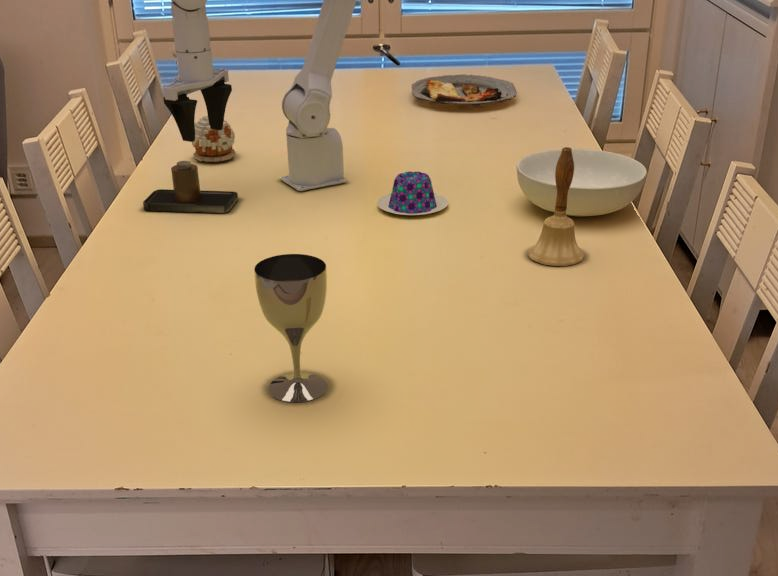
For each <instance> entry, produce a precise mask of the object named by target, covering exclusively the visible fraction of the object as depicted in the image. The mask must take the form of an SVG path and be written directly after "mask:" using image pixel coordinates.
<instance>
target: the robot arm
mask: <svg viewBox="0 0 778 576" xmlns="http://www.w3.org/2000/svg"><path fill="white" fill-rule="evenodd" d="M170 1H171V2H170V12H171V15H172V18H171V25H172V33H173V40H174V41H173V43H174V49H175V57H176V64H177V73H178V74H177V75H175V76H174V81H172V82H171V83H170V84H167V85H165V86H163V94H164V95H163V104H164V105H165V107H166V108H167V109H168V111H169V112H170V114H171V115H172V117H173V120H174V121H175V123H176V125H177V128H178V131H179V134H180V137H181V139H182V141H183V142H189V143H192V142H193V141H195V123H196V122H195V117H196V116H195V115H196V109H197V104H198V100H197V99H192V98H190V97H189V96H188V95H190V94H192V93H195V92H198V91H200V93H201V94H202V98H203V100H204V103H205V108H206V113H207V116H208V120H209V124H210V128H211V129H214V130H222V129H223V122H224V120H225V114H226V108H227V104H228V101H229V98H230V96H231V94H232V91H233V86H232V84H230V83H228V82H229V81H230V78H229V70H228V69H227V68H215V69H214V65H213V55H212V45H211V35H210V27H209V18H208V16H207V7H206V3H207V2H208V0H170ZM357 2H358V0H323V1H322V4H321V7H320V11H319V14H318V17H317V20H316V24H315V26H314V30H313V33H312V36H311V39H310V43H309V46H308V49H307V53H306V56H305V59H304V62H303V65H302V68H301V70H300V71H299V72H298V73H297V74H296V76H295V77H294V80H293V82H292V85H291V87H290V88H289V89H288V90H287V91H286V92H285V94H284V96H283V97H282V100H281V110H282V113H283V116H284V117H285V118H286V120H288V124H287V127H286V129H285V132H286V149H287V150H286V151H287V162H288V163H287V166H288V168H287V169H288V175H284V176H281V177H280V180H281V181H282V182H284V183H285V184H287V185H288V186H290V187H291V188H293V189H294V190H296V191H298V192H303V191H308V190H315V189H319V188H324V187H330V186H335V185H339V184H340V185H341V184H344V183H346V182H347V179H345V172H344V168H345V167H344V145H343V140H342V137H341V134H340V133H339V131H338V130H337V129H336V128H334V127H329V124H330V121H331V110H330V105H331V102H332V98H333V90H332V79H333V76H334V73H335V69H336V66H337V63H338V60H339V57H340V54H341V51H342V48H343V44H344V43H345V42H344V41H345V38H346V35H347V32H348V30H349V26H350V23H351V20H352V17H353V13H354V11H355V8H356V4H357Z"/></svg>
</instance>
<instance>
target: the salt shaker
mask: <svg viewBox="0 0 778 576" xmlns="http://www.w3.org/2000/svg"><path fill="white" fill-rule="evenodd" d="M170 172H171V179H172V187H173V188H172V189H173V190H174V195H175V201H176V202H178V203H184V204H187V203H195V202H198V201H200V200H201V193H200V191H201V186H200V184H201V183H200V177H199V167H198V165H197V164H194V163H192V162H191V161H190V160H180V161H177V162H176V165H173V166H172V167H171V168H170Z"/></svg>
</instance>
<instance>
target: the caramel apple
mask: <svg viewBox="0 0 778 576" xmlns="http://www.w3.org/2000/svg"><path fill="white" fill-rule="evenodd" d="M194 123H195V141H193V142H191V145H192V147H193V148H194V149H195V151H194V152H193V158H194V159H195V160H196V161H199V162H202V161H204V162H207V163H211V162H212V163H218V162H224V161H227V160H230V159H231V160H232V158H234V157H235V155H236V151H235V149H234V148H233V145H234V144H235V139H236V136H235V135H236V134H235V132H234V130H233V128H231V125H230V123H229V122H227V120H225V119H224V122H223V129H222V130H214V129H211V128H210V124H209V120H208V115H204V116H202V117H201V118H199V120H198V121H197V122H194Z"/></svg>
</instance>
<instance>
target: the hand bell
mask: <svg viewBox="0 0 778 576" xmlns="http://www.w3.org/2000/svg"><path fill="white" fill-rule="evenodd" d="M561 149H562V152H561V155H560V157H559V159H558V162H557V165H556V172H555V181H556V187H557V198H556V206H555V211H554V212H553V215H551V216H548V217H547V218H545V219H544V221H543V226H542V228H541V232H540V235H539V237H538V240H537V241H536V243H534V244H533V245H532V246H531V247H530V248H529V250H528V251H527V256H528V258H529V259H530V260H531V261H533V262H536V263H538V264H541V265H546V266H552V267H565V266H566V267H568V266H573V265H577V264H579V263H580V262H582V261H583V260H584V258H585V254H584V252H583V250H582V249H581V248H580V247H579V245H578V243H577V240H576V233H575V221H574V220H573V219H572V218H570V217H569V216H568V215H566V210H567V196H568V190H569V188H570V185H571V183H572V179H573V174H574V161H573V156H572V149H573V148H572V147H568V146H566V147H565V146H564V147H562V148H561Z"/></svg>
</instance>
